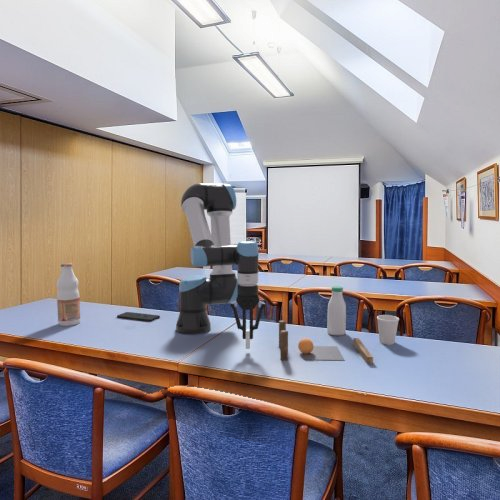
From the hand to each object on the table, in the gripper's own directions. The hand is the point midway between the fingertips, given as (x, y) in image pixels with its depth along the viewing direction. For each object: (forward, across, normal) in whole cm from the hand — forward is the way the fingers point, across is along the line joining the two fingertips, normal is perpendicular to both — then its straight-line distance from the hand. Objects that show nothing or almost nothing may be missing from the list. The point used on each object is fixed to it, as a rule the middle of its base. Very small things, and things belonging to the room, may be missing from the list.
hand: (247, 347), depth 144 cm
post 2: (+2, +13, -6) cm, 15 cm away
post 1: (+2, +13, +6) cm, 15 cm away
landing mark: (+2, +27, 0) cm, 27 cm away
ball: (-1, +21, 0) cm, 21 cm away
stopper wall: (+2, +42, 0) cm, 42 cm away
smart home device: (+3, -55, +46) cm, 72 cm away
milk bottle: (+2, +37, +24) cm, 44 cm away
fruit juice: (+2, -84, +35) cm, 91 cm away
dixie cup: (+2, +55, +13) cm, 57 cm away
